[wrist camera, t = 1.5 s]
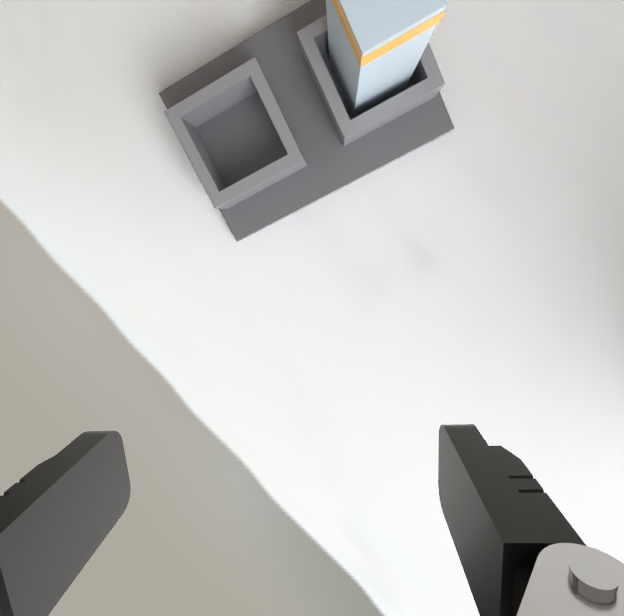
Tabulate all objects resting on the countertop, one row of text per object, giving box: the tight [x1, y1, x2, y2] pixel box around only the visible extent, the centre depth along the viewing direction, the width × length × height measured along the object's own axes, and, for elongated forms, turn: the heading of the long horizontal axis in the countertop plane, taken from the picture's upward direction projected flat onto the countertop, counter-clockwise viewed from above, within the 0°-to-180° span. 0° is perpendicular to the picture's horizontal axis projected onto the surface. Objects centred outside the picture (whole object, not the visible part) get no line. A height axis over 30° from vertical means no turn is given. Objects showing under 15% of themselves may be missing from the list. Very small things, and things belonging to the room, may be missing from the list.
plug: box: [326, 0, 447, 116], centre depth 22 cm, size 4×4×11 cm
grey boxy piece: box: [159, 0, 454, 241], centre depth 28 cm, size 18×12×4 cm, turn 117°
